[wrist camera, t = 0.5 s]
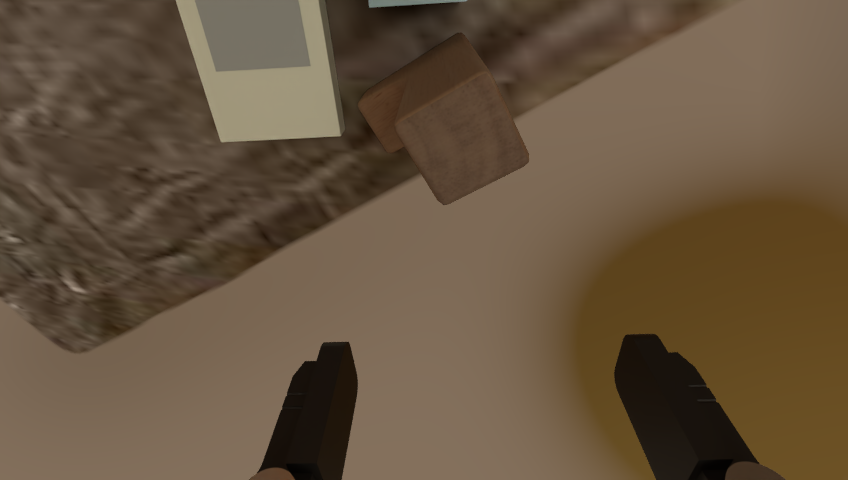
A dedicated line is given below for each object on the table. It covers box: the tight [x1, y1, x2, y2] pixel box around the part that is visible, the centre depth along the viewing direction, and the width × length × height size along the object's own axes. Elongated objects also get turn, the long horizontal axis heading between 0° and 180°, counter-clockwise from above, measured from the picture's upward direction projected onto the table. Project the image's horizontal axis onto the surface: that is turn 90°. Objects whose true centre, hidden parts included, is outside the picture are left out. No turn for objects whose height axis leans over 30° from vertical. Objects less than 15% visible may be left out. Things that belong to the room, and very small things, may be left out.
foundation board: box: [176, 0, 345, 142], centre depth 31 cm, size 13×10×2 cm
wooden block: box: [358, 33, 529, 205], centre depth 25 cm, size 9×4×18 cm, turn 120°
